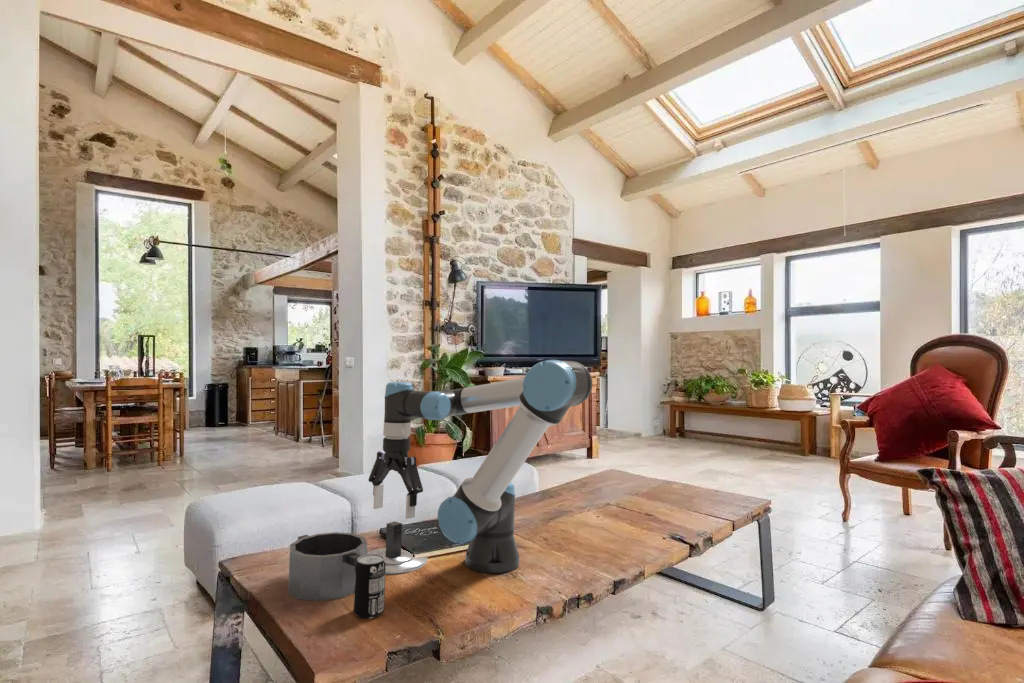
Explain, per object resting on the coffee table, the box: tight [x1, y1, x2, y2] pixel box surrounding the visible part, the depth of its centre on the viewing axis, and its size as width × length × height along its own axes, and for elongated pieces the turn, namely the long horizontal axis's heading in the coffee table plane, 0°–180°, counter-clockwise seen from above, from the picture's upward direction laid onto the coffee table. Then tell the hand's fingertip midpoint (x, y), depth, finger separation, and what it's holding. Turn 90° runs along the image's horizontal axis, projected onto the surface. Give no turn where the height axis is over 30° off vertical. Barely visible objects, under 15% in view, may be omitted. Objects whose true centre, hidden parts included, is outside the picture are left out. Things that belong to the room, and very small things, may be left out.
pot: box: [287, 531, 368, 602], centre depth 135 cm, size 24×18×10 cm
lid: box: [367, 521, 428, 576], centre depth 152 cm, size 19×19×11 cm
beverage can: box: [353, 554, 386, 620], centre depth 121 cm, size 7×7×12 cm
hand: (393, 512), depth 152 cm, fingers open, 13 cm apart
